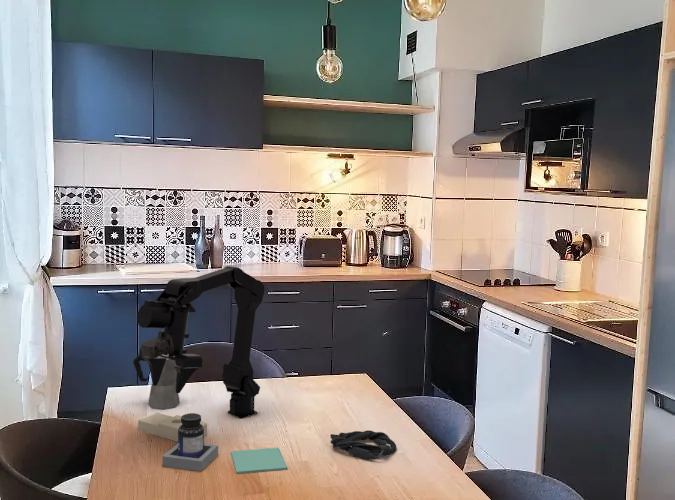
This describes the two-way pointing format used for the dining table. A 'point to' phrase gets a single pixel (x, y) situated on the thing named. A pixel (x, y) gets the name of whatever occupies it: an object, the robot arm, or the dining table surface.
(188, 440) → the pill bottle
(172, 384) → the coffeepot
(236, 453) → the mat
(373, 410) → the dining table surface
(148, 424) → the electrical outlet
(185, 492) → the dining table surface
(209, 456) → the collar
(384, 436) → the cable
